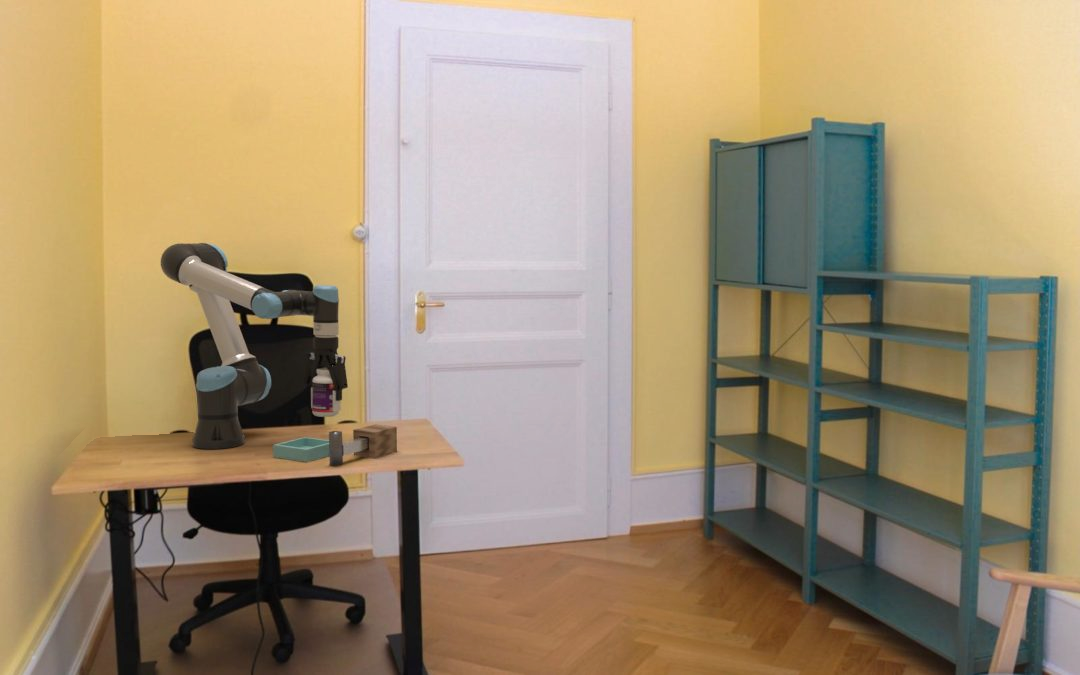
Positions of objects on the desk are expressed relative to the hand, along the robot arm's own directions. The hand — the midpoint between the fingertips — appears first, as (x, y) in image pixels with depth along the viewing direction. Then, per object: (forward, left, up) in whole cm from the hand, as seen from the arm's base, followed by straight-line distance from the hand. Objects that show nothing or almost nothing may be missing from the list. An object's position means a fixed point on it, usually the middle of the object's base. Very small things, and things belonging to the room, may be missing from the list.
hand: (325, 409), depth 295 cm
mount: (+23, -4, -11) cm, 25 cm away
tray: (+7, -16, -11) cm, 20 cm away
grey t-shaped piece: (+23, -14, -10) cm, 28 cm away
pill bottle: (0, 0, -2) cm, 2 cm away
